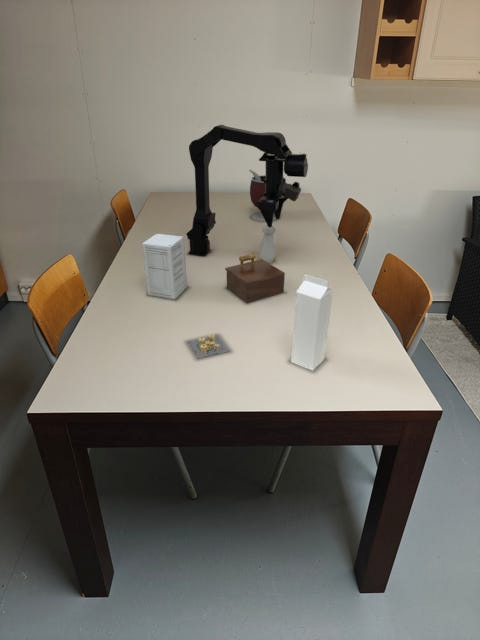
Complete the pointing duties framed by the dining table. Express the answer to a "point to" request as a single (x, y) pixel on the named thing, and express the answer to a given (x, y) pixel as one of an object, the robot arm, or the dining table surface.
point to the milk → (311, 322)
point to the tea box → (255, 288)
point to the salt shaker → (268, 245)
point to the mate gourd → (257, 194)
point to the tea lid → (253, 270)
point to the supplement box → (165, 265)
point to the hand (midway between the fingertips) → (273, 223)
